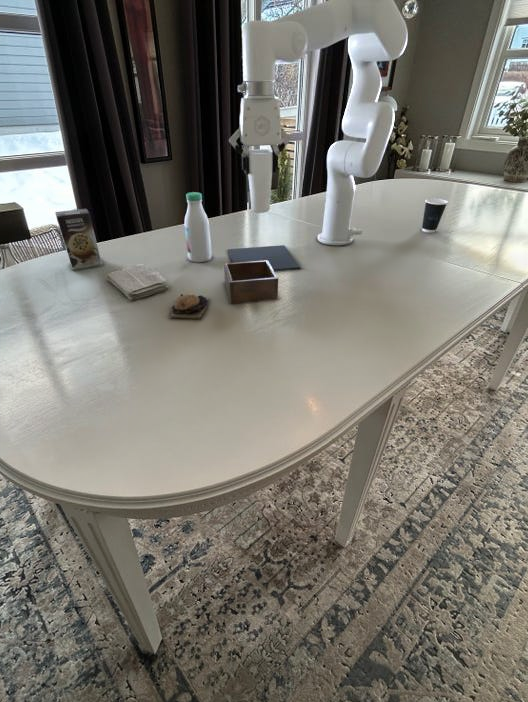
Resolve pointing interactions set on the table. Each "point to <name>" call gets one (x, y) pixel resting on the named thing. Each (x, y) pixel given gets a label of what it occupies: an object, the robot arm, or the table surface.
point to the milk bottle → (197, 229)
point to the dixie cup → (433, 214)
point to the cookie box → (79, 238)
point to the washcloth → (137, 281)
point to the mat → (265, 256)
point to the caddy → (250, 281)
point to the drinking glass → (260, 179)
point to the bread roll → (189, 306)
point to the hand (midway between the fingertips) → (260, 171)
